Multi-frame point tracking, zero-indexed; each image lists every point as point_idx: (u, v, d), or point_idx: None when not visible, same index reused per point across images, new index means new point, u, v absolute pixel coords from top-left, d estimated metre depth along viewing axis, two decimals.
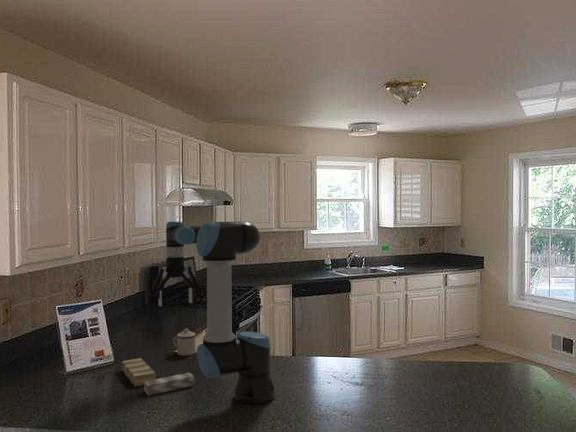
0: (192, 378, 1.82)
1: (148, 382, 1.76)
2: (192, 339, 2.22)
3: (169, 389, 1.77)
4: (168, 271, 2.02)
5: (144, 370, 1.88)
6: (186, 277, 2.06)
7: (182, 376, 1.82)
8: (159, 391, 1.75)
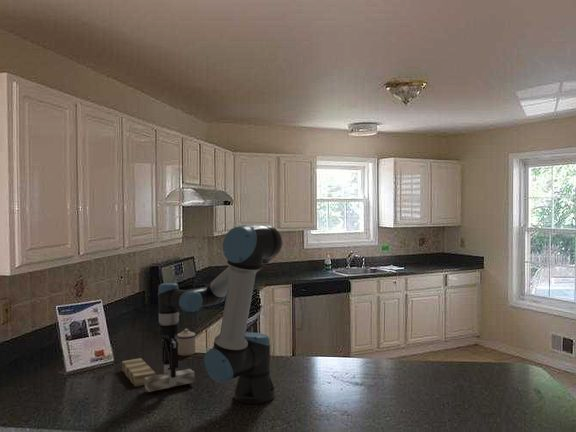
0: (192, 374, 1.81)
1: (149, 378, 1.76)
2: (192, 339, 2.22)
3: None
4: None
5: (144, 370, 1.88)
6: (168, 353, 1.76)
7: (182, 372, 1.82)
8: (159, 387, 1.74)
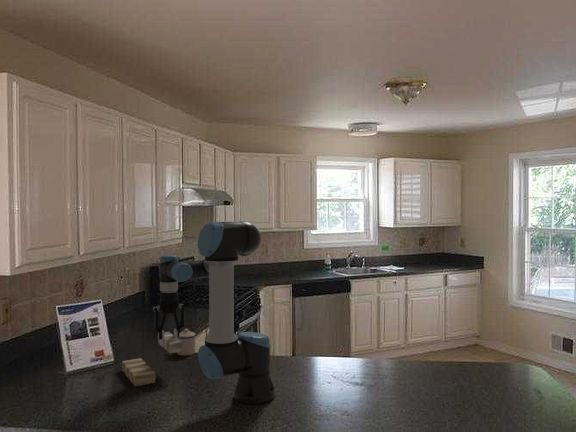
0: None
1: (172, 342, 1.91)
2: (192, 339, 2.22)
3: None
4: (162, 307, 1.96)
5: (144, 370, 1.88)
6: (176, 315, 1.99)
7: (166, 334, 2.03)
8: None
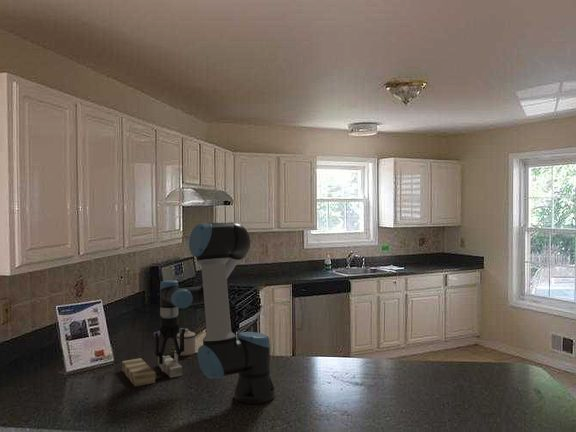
0: None
1: (173, 367, 1.93)
2: (192, 339, 2.22)
3: None
4: (163, 332, 1.97)
5: (144, 370, 1.88)
6: None
7: (166, 358, 2.04)
8: None
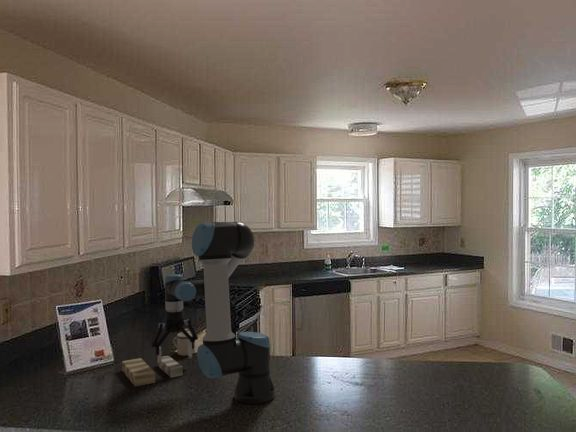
0: None
1: (173, 367, 1.93)
2: None
3: None
4: (167, 326, 1.98)
5: (144, 370, 1.88)
6: None
7: (166, 358, 2.04)
8: None
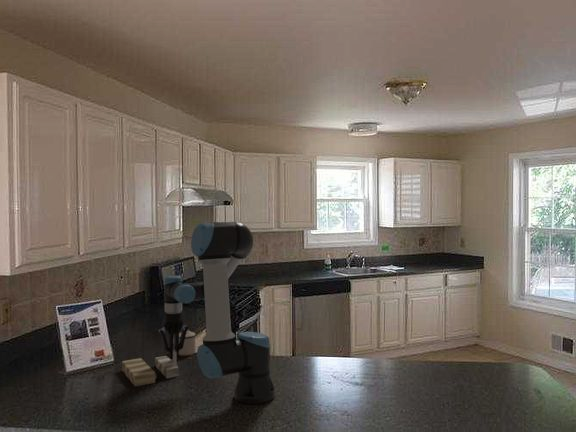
0: None
1: (169, 367, 1.92)
2: (192, 339, 2.22)
3: None
4: (167, 328, 1.98)
5: (144, 370, 1.88)
6: (178, 337, 2.01)
7: (163, 358, 2.04)
8: None
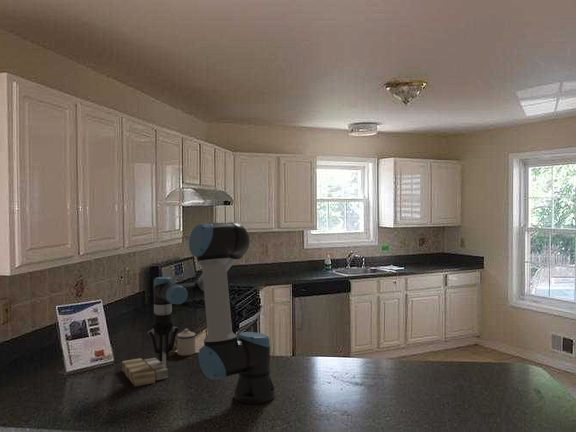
0: None
1: (158, 369, 1.90)
2: (192, 339, 2.22)
3: None
4: (157, 329, 1.96)
5: (144, 370, 1.88)
6: None
7: (152, 360, 2.01)
8: None
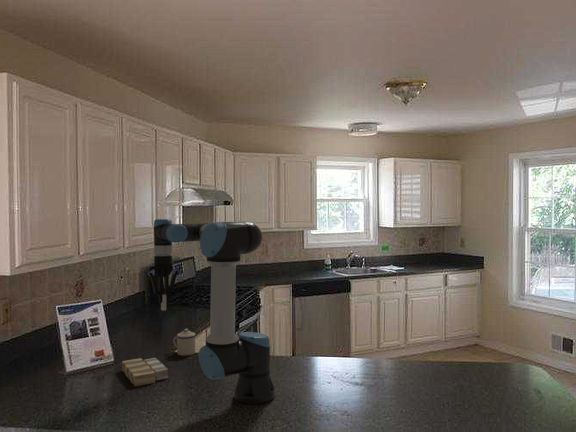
0: None
1: (158, 369, 1.90)
2: (192, 339, 2.22)
3: None
4: (157, 270, 1.96)
5: (144, 370, 1.88)
6: (168, 280, 1.98)
7: (152, 360, 2.01)
8: None
